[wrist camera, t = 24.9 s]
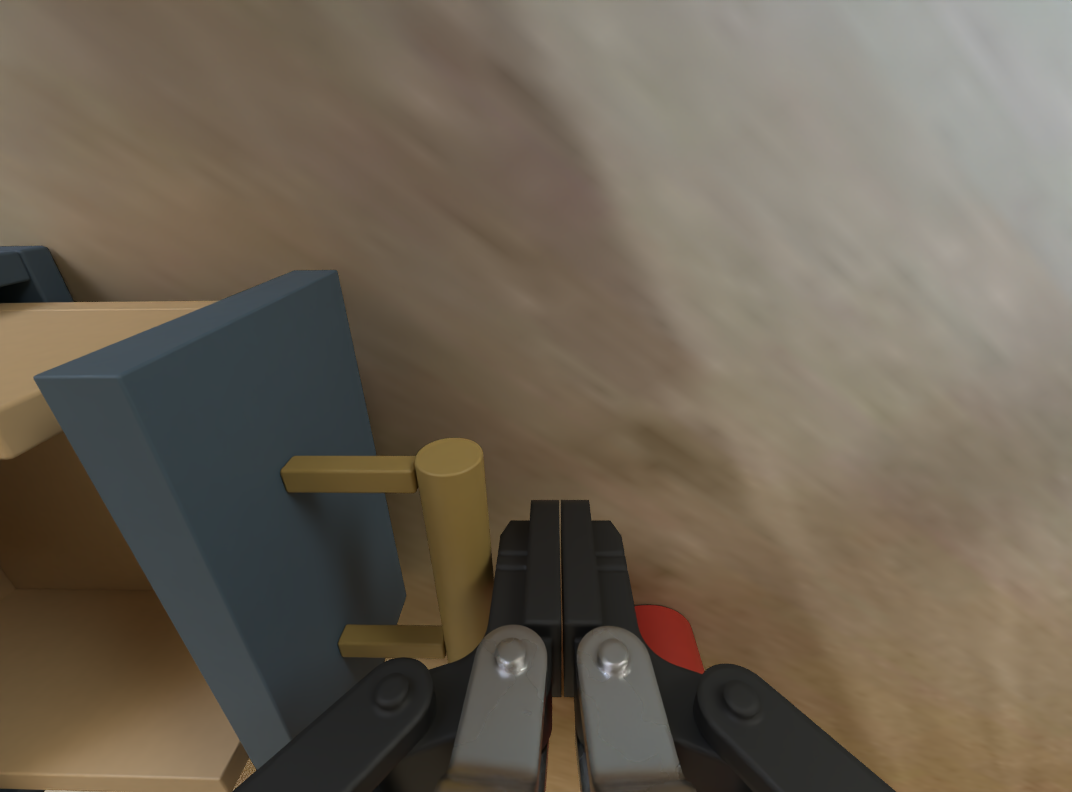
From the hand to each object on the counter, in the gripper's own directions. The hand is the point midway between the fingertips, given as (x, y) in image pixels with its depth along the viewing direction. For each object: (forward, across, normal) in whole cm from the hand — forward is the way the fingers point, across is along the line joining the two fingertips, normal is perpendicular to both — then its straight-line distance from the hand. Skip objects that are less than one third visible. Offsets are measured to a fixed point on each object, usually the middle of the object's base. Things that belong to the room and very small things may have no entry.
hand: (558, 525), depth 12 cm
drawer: (+3, +11, 0) cm, 11 cm away
